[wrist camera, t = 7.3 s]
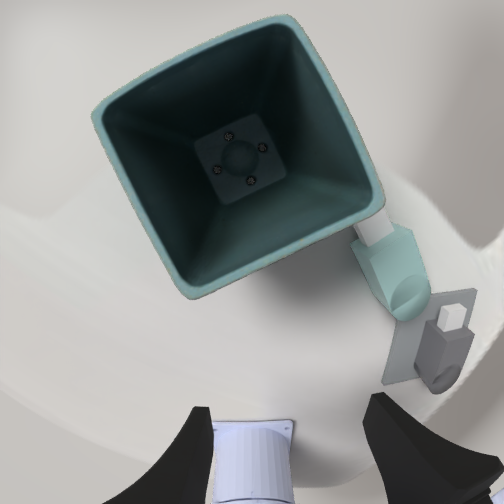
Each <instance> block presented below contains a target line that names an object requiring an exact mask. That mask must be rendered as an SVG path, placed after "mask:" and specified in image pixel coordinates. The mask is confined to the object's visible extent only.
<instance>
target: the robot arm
mask: <svg viewBox="0 0 504 504" xmlns="http://www.w3.org/2000/svg"><path fill="white" fill-rule="evenodd" d="M363 426H364V431H365V434H366V438H367V441H368V444H369V446H370V449H371V451H372V454H373V456H374V459H375V461H376V463H377V466H378V468H379V471H380V473H381V476H382V479H383V482H384V486H385V490H386V494H387V498H388V504H504V488H503V489H501V490H500V491H499V492H497V493H496V494H495V495H493V496H492V497H491V498H490V496H489V495H488V494H490V493H491V490H490V488H489V487H490V486H491V485H492V484H493V483H494V482H495V481H496V480H497V479H498V478H499V477H500V475H501V474H502V473H503V472H504V466H503V464H502V462H501V461H500V459H499V458H498V457H497V456H492V455H487V454H482V453H478V452H475V451H472V450H469V449H466V448H463V447H461V446H459V445H456V444H454V443H452V442H450V441H448V440H446V439H444V438H442V437H440V436H439V435H437V434H435V433H434V432H432V431H430V430H429V429H428V428H426V427H425V426H423V425H422V424H421V423H419V422H418V421H417V420H416V419H414V418H413V417H412V416H411V415H409V414H408V413H407V412H406V411H405V410H403V409H402V408H401V407H400V406H399V405H398V404H397V403H395V402H394V401H393V400H392V399H391V398H390V397H389V396H388V395H386V394H385V393H384V392H381V393H376V394H372V395H371V398H370V402H369V405H368V408H367V411H366V414H365V417H364V420H363ZM292 429H293V422H292V421H291V420H280V421H261V422H212V421H211V416H210V410H209V407H198V406H195V407H193V409H192V411H191V413H190V415H189V417H188V418H187V420H186V422H185V424H184V425H183V427H182V429H181V430H180V432H179V433H178V435H177V436H176V438H175V439H174V441H173V442H172V443H171V445H170V446H169V447H168V449H167V450H166V451H165V453H164V454H163V455H162V456H161V457H160V459H159V460H158V461H157V462H156V463H155V464H154V465H153V466H152V467H151V468H150V469H149V470H148V471H147V472H146V473H145V474H144V475H143V476H142V477H141V478H140V479H138V480H137V481H136V482H135V483H134V484H132V485H131V486H130V487H128V488H127V489H125V490H124V491H123V492H121V493H120V494H118V495H117V496H115V497H114V498H112V499H110V500H108V501H106V502H104V503H103V504H205V497H206V490H207V484H208V479H209V474H210V469H211V463H212V457H213V447H214V449H215V453H216V466H215V477H214V488H213V500H212V503H210V504H295V502H294V494H293V486H292V479H291V471H290V463H289V454H290V446H291V438H292Z"/></svg>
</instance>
